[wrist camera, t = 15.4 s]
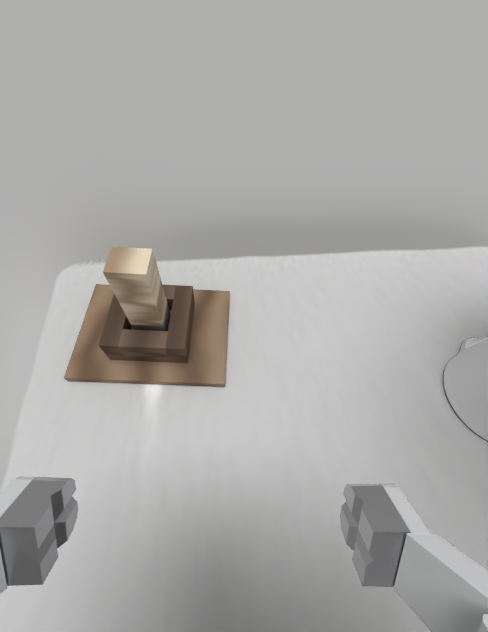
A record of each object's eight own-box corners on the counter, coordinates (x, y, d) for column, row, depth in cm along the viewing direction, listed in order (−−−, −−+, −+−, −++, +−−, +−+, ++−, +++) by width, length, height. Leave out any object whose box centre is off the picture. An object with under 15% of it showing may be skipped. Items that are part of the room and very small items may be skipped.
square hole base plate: (229, 295, 51) (230, 273, 46) (224, 386, 42) (225, 371, 37) (98, 288, 50) (84, 265, 45) (67, 380, 41) (46, 364, 36)
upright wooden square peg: (170, 314, 45) (152, 248, 33) (167, 335, 43) (146, 274, 31) (141, 313, 44) (111, 246, 32) (136, 334, 43) (102, 272, 31)
